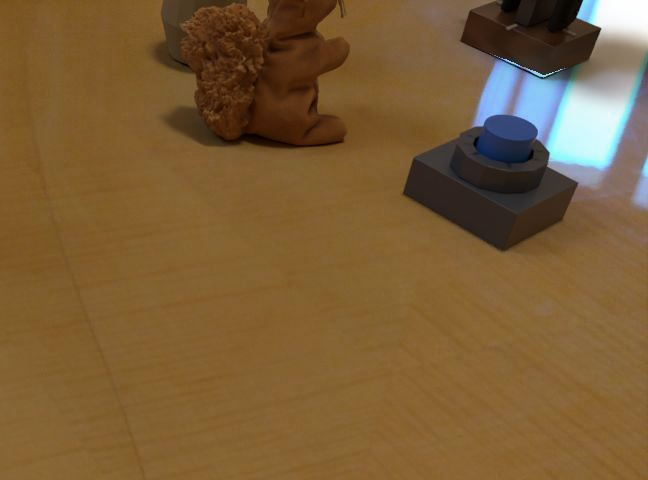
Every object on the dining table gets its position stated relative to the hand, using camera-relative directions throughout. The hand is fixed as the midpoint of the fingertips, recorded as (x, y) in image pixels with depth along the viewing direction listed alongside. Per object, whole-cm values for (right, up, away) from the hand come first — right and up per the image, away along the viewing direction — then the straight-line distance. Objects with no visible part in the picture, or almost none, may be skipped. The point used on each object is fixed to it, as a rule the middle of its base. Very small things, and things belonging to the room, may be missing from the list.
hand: (535, 15), depth 98 cm
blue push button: (-12, -22, -21) cm, 32 cm away
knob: (0, 0, 0) cm, 0 cm away
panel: (0, -2, +2) cm, 3 cm away
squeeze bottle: (-33, -5, -2) cm, 34 cm away
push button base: (-12, -25, -17) cm, 32 cm away
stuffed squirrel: (-29, -15, -10) cm, 34 cm away
